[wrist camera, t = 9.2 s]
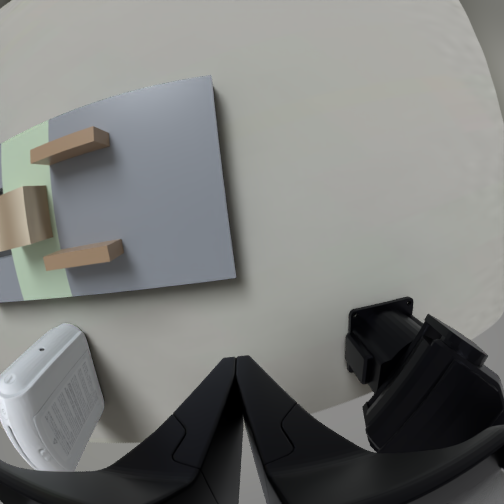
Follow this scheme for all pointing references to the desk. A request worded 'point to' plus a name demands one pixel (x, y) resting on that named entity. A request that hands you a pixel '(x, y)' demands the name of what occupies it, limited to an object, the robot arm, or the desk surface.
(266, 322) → the desk surface
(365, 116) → the desk surface
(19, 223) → the birch block
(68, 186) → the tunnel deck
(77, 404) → the photo printer
